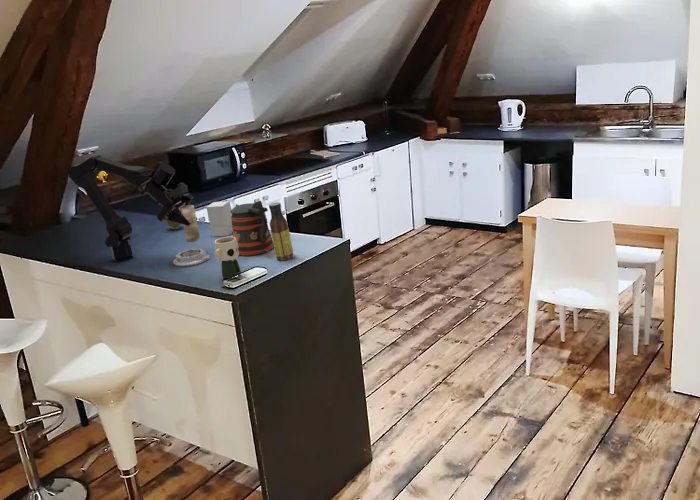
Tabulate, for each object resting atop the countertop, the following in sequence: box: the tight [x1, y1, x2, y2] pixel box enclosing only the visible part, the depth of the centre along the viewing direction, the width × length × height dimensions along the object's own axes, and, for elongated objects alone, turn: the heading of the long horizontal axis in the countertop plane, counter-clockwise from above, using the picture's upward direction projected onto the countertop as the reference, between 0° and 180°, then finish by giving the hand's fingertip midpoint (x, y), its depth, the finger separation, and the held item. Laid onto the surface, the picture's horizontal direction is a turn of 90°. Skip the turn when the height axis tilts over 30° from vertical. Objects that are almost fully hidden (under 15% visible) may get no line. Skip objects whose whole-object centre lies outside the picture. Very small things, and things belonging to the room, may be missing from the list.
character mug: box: [214, 236, 242, 279], centre depth 226 cm, size 11×7×13 cm, turn 150°
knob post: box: [180, 204, 201, 243], centre depth 249 cm, size 5×5×12 cm
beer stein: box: [230, 200, 274, 257], centre depth 248 cm, size 19×15×20 cm
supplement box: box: [206, 200, 233, 237], centre depth 277 cm, size 7×7×13 cm
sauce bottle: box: [268, 201, 295, 261], centre depth 237 cm, size 7×6×20 cm
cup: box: [165, 210, 181, 231], centre depth 293 cm, size 8×7×8 cm
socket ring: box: [172, 247, 211, 268], centre depth 250 cm, size 13×13×3 cm
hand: (193, 222), depth 248 cm, fingers closed on knob post, 5 cm apart
